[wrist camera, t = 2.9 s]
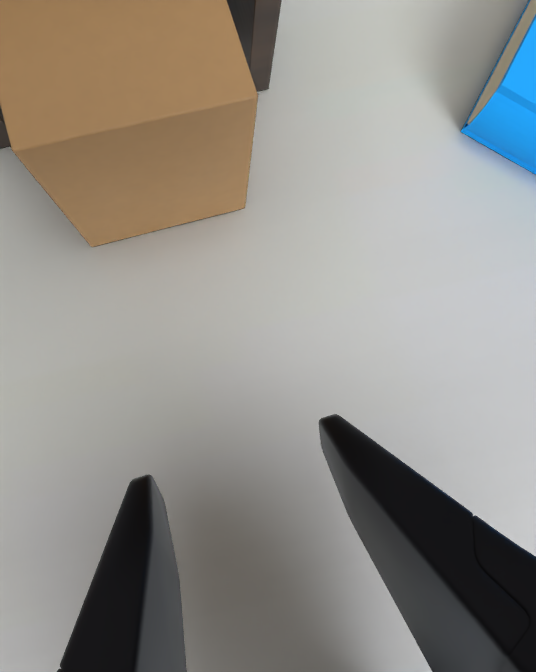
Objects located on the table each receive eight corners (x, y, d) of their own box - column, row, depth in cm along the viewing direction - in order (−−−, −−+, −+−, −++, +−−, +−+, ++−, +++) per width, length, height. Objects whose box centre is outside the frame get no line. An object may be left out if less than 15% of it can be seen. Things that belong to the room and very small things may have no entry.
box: (245, 208, 24) (258, 96, 16) (89, 248, 23) (8, 152, 15) (192, 39, 26) (176, -156, 17) (40, 69, 25) (-63, -121, 16)
